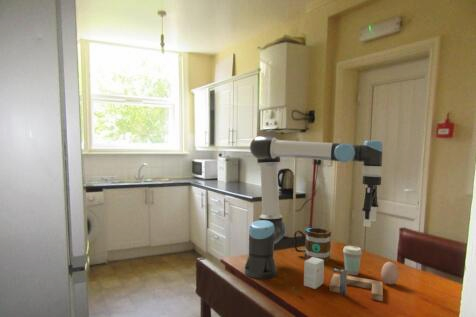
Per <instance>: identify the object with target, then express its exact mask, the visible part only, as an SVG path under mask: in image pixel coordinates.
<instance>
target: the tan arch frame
mask: <svg viewBox="0 0 476 317" xmlns="http://www.w3.org/2000/svg"><path fill="white" fill-rule="evenodd" d="M346 286H352V287H358V288H364V289H367V290H368V289H370V290H371V300H374V301H379V302H383V301H384V300H383V299H384V293H383V281H379V280H375V279H368V278H363V277H357V276H353V275H347V282H346ZM328 288H329V292H333V293H338V294H340V273H336V272H333V273H332V277H331V279H330V283H329V286H328Z"/></svg>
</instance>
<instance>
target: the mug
mask: <svg viewBox="0 0 476 317" xmlns="http://www.w3.org/2000/svg"><path fill="white" fill-rule="evenodd" d="M297 233H299V234H301V236H302V237H304V238H305V239H304V240H305V242H304V246H305V248H304V249H298V247H297ZM331 234H332V232H331V230H329V229H327V228H321V227H308V228H305V234H304V233H303V231H301V230H296V231H295V232H294V235H293V239H294V240H293V242H294V245H293V247H294V249H295V252H298V253H304V258H305V259H306V260H308V259H310V258H312V257H315V258H319V259H322V260H324V263H327V262H329V261H331V247H332V246H331V245H332V244H331V236H332V235H331Z"/></svg>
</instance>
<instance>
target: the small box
mask: <svg viewBox="0 0 476 317" xmlns="http://www.w3.org/2000/svg"><path fill="white" fill-rule="evenodd" d="M303 263H304V265H303V266H304V267H303V268H304V269H303V270H304V271H303V286H305V287H308V288H311V289H313V290H314V289H318V288H319V287H320V286H322V284H324V277H325V276H324V271H325V270H324V269H325V262H324V260H322V259H319V258H315V257H312V258H310V259H308V260H307V259H306V260H305V261H304V262H303Z"/></svg>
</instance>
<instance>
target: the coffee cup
mask: <svg viewBox="0 0 476 317" xmlns="http://www.w3.org/2000/svg"><path fill="white" fill-rule="evenodd" d="M342 252H343V259H344V260H343V261H344V270H347V275H348V276H358V275H359V271H360V264H361V258H362V254H363V252H362V248H360V247H359V246H356V245H346V246H344V247H343V250H342Z"/></svg>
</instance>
